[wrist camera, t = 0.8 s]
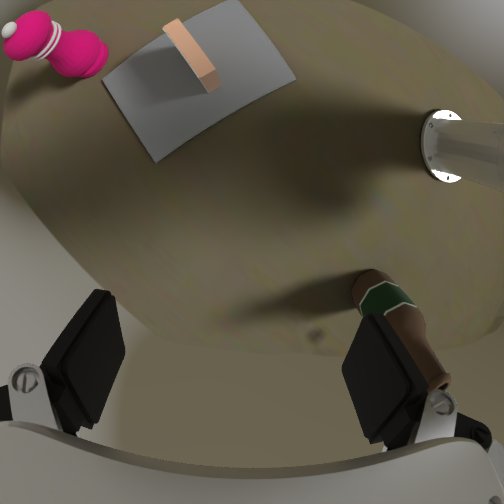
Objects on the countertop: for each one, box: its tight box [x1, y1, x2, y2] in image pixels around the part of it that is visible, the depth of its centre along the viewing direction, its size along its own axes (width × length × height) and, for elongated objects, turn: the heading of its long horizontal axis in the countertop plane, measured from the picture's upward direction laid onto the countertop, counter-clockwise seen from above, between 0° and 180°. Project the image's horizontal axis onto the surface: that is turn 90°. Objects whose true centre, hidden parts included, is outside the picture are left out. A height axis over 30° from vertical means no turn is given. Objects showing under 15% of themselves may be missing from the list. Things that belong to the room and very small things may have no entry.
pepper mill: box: [2, 11, 108, 78], centre depth 17 cm, size 7×7×20 cm
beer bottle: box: [351, 269, 451, 393], centre depth 33 cm, size 8×8×24 cm
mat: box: [102, 0, 297, 163], centre depth 29 cm, size 22×16×1 cm
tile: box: [162, 18, 221, 93], centre depth 25 cm, size 2×8×9 cm, turn 31°
